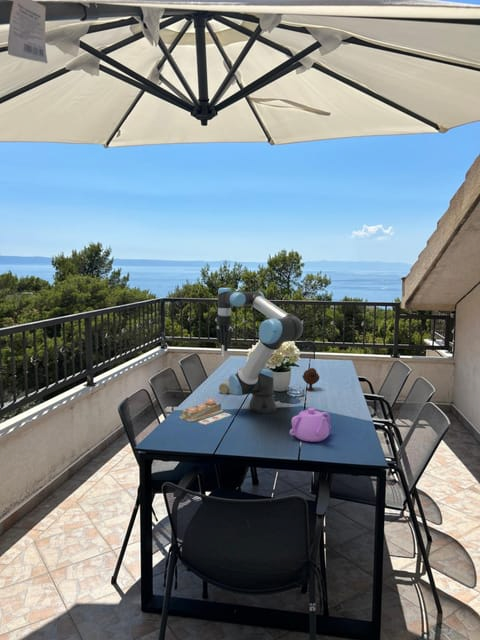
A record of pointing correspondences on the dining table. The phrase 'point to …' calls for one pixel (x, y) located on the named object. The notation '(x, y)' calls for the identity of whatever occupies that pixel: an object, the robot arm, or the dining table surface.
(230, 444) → the dining table surface
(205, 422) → the pattern card
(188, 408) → the button
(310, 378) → the brown tree model
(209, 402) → the button
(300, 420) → the teapot
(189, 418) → the button panel
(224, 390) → the ceramic mug
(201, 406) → the button middle
